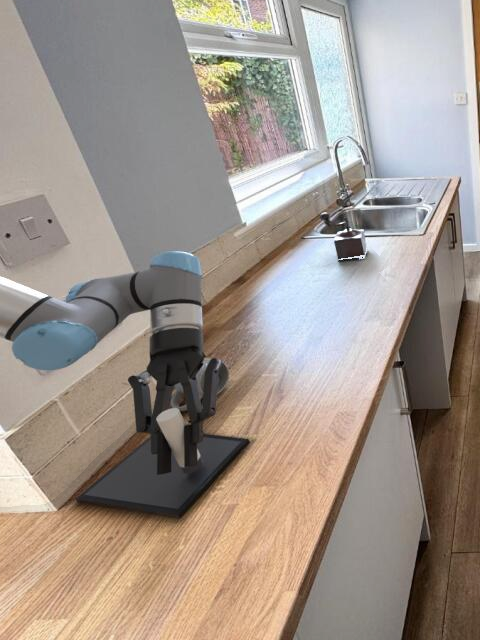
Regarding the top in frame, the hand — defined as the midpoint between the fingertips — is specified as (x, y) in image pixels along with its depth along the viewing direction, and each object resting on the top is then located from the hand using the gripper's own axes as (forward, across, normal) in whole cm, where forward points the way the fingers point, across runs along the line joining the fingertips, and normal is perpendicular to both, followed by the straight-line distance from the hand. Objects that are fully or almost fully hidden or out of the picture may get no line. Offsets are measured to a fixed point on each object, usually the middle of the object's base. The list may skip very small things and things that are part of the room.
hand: (177, 469), depth 66 cm
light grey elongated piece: (0, 0, +5) cm, 5 cm away
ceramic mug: (-15, -5, +24) cm, 29 cm away
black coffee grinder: (-66, +26, +75) cm, 103 cm away
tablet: (-1, -5, +8) cm, 10 cm away
